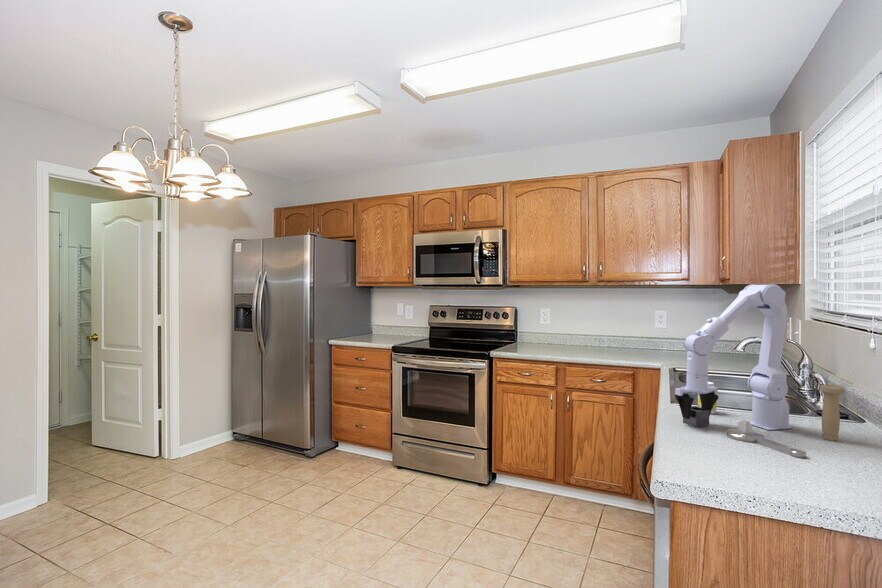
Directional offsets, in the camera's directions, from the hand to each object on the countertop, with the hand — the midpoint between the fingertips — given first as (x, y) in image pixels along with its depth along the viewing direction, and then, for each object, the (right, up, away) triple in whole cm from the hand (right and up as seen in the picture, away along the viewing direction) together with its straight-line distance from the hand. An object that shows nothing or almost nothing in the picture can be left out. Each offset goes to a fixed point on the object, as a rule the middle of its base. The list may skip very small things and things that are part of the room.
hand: (695, 417), depth 139 cm
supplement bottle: (+12, -3, +15) cm, 20 cm away
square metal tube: (0, -2, 0) cm, 2 cm away
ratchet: (+9, -3, -17) cm, 19 cm away
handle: (+31, -3, -12) cm, 34 cm away
